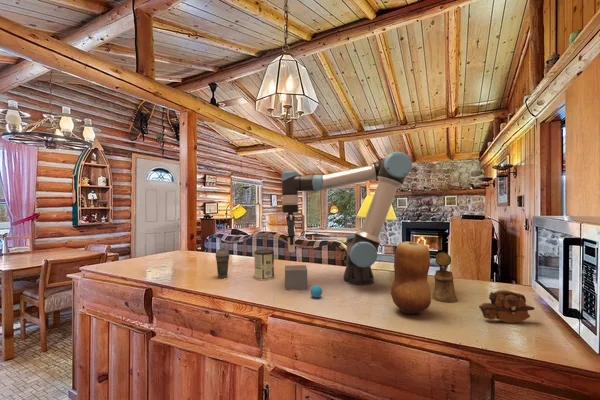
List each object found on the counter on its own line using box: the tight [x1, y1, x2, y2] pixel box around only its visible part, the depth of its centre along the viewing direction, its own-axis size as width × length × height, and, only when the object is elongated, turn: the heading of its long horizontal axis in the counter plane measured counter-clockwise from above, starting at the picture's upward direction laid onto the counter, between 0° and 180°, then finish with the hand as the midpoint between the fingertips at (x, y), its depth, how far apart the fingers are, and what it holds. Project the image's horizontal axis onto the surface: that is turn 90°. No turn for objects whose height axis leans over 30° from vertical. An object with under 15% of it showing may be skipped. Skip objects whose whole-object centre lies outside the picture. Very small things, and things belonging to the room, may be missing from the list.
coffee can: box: [253, 249, 275, 281], centre depth 150 cm, size 10×10×14 cm
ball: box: [310, 284, 323, 299], centre depth 118 cm, size 5×5×5 cm
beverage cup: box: [215, 239, 231, 280], centre depth 150 cm, size 7×7×20 cm
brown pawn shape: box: [431, 251, 458, 303], centre depth 118 cm, size 9×14×18 cm, turn 155°
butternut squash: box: [390, 240, 432, 315], centre depth 102 cm, size 14×13×25 cm
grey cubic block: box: [284, 264, 308, 291], centre depth 134 cm, size 10×10×9 cm
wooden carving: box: [478, 289, 536, 324], centre depth 93 cm, size 16×5×10 cm, turn 90°
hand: (291, 249), depth 133 cm, fingers open, 13 cm apart
